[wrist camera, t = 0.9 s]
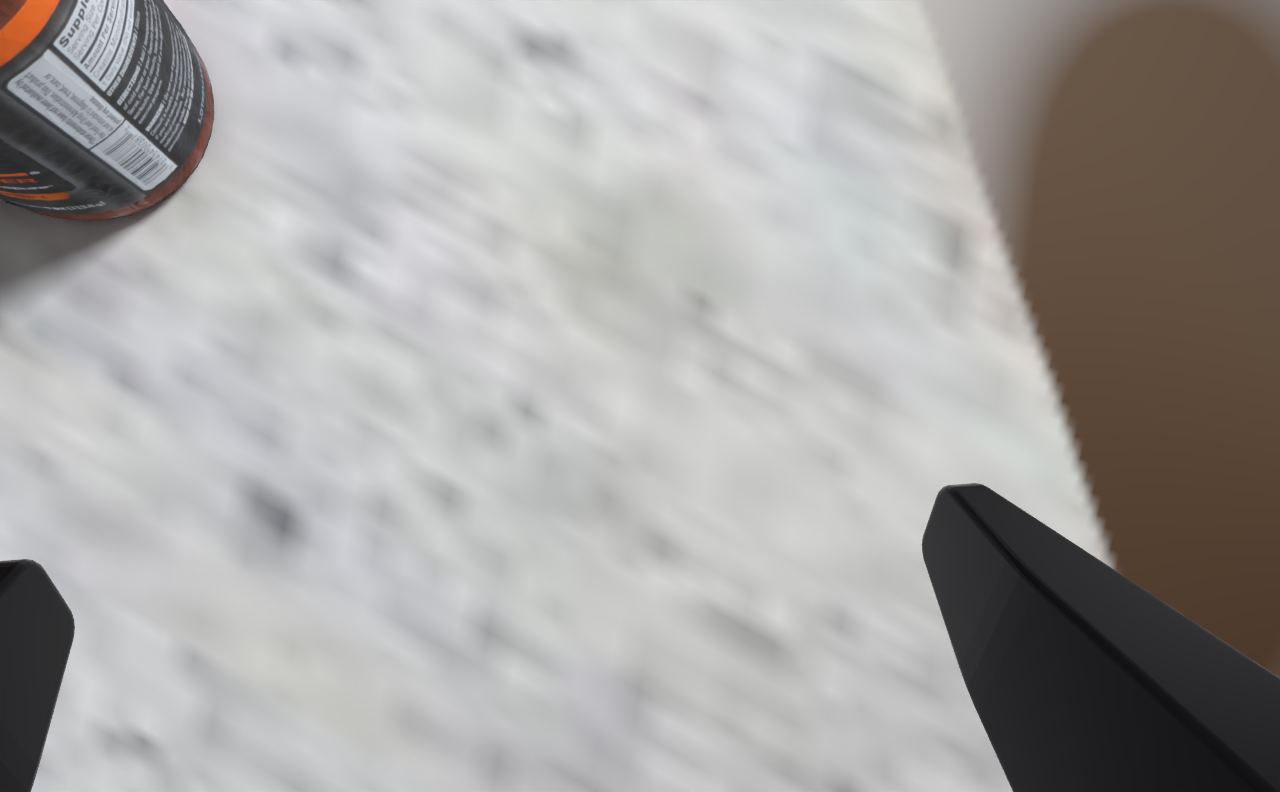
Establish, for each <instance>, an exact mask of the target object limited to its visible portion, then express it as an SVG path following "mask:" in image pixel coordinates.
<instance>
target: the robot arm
mask: <svg viewBox="0 0 1280 792" xmlns="http://www.w3.org/2000/svg"><path fill="white" fill-rule="evenodd" d="M922 552H923V558H924V561H925V564H926V567H927V570H928V574H929V577H930V580H931V583H932V586H933V589H934V592H935V595H936V598H937V601H938V604H939V607H940V610H941V613H942V616H943V619H944V622H945V625H946V628H947V631H948V634H949V637H950V640H951V643H952V646H953V649H954V652H955V656H956V659H957V662H958V665H959V668H960V670H961V673H962V676H963V679H964V681H965V684H966V687H967V689H968V692H969V694H970V696H971V699H972V701H973V704H974V706H975V708H976V711H977V713H978V715H979V717H980V719H981V722H982V724H983V726H984V728H985V730H986V733H987V735H988V737H989V739H990V741H991V744H992V746H993V748H994V750H995V753H996V755H997V757H998V759H999V761H1000V764H1001V766H1002V768H1003V770H1004V772H1005V775H1006V777H1007V779H1008V781H1009V783H1010V786H1011V788H1012V790H1013V792H1280V678H1279V677H1277V676H1276V675H1275V674H1273V673H1272V672H1270V671H1269V670H1267V669H1265V668H1264V667H1262V666H1261V665H1259V664H1258V663H1256V662H1255V661H1253V660H1252V659H1250V658H1249V657H1247V656H1245V655H1244V654H1242V653H1241V652H1239V651H1238V650H1236V649H1235V648H1233V647H1232V646H1230V645H1229V644H1227V643H1225V642H1224V641H1222V640H1221V639H1219V638H1218V637H1216V636H1215V635H1213V634H1212V633H1210V632H1209V631H1207V630H1206V629H1204V628H1203V627H1201V626H1200V625H1198V624H1196V623H1195V622H1193V621H1192V620H1190V619H1189V618H1187V617H1186V616H1184V615H1183V614H1181V613H1180V612H1178V611H1177V610H1175V609H1173V608H1172V607H1170V606H1169V605H1167V604H1166V603H1164V602H1163V601H1161V600H1160V599H1158V598H1157V597H1155V596H1154V595H1152V594H1150V593H1149V592H1147V591H1146V590H1144V589H1143V588H1141V587H1140V586H1138V585H1136V584H1135V583H1133V582H1132V581H1131V580H1129V579H1128V578H1126V577H1124V576H1123V575H1121V574H1120V573H1118V572H1117V571H1115V570H1114V569H1112V568H1111V567H1109V566H1108V565H1106V564H1105V563H1103V562H1101V561H1100V560H1098V559H1097V558H1095V557H1094V556H1092V555H1091V554H1089V553H1088V552H1086V551H1085V550H1083V549H1082V548H1080V547H1078V546H1077V545H1075V544H1074V543H1072V542H1071V541H1069V540H1068V539H1066V538H1065V537H1063V536H1062V535H1060V534H1059V533H1057V532H1056V531H1054V530H1052V529H1051V528H1049V527H1048V526H1046V525H1045V524H1043V523H1042V522H1040V521H1039V520H1037V519H1036V518H1034V517H1033V516H1031V515H1029V514H1028V513H1026V512H1025V511H1023V510H1022V509H1020V508H1019V507H1017V506H1016V505H1014V504H1013V503H1011V502H1010V501H1008V500H1006V499H1005V498H1003V497H1002V496H1000V495H999V494H997V493H996V492H994V491H993V490H991V489H990V488H988V487H986V486H984V485H982V484H977V483H972V484H959V485H948V486H945V487H943V488H942V489H941V490H940V491H939V493H938V495H937V497H936V500H935V503H934V506H933V509H932V512H931V515H930V518H929V521H928V524H927V527H926V529H925V532H924V535H923V541H922ZM74 629H75V626H74V619H73V615H72V612H71V610H70V608H69V607H68V605H67V604H66V602H65V601H64V599H63V598H62V596H61V595H60V593H59V591H58V590H57V588H56V587H55V585H54V584H53V582H52V581H51V579H50V578H49V576H48V575H47V573H46V571H45V570H44V568H43V567H42V566H41V565H40V564H38V563H36V562H35V561H33V560H28V559H22V560H10V561H0V792H31V789H32V786H33V783H34V780H35V776H36V773H37V770H38V767H39V763H40V759H41V756H42V752H43V748H44V745H45V741H46V737H47V734H48V730H49V726H50V723H51V719H52V715H53V712H54V708H55V704H56V701H57V697H58V693H59V690H60V686H61V682H62V679H63V675H64V671H65V668H66V664H67V660H68V657H69V653H70V649H71V646H72V642H73V638H74Z"/></svg>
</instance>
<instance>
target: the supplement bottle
mask: <svg viewBox="0 0 1280 792" xmlns="http://www.w3.org/2000/svg"><path fill="white" fill-rule="evenodd" d="M213 120H214V99H213V93H212V87H211V83H210V79H209V76H208V73H207V69H206V67H205V65H204V62H203V60H202V59H201V57H200V56H199V54H198V52H197V50H196V48H195V47H194V45H193V43H192V42H191V40H190V38H189V37H188V35H187V34H186V32H185V30H184V29H183V27H182V25H181V24H180V23H179V21H178V20H177V19H176V17H175V16H174V15H173V14H172V12H171V11H170V10H169V8H168V6H167V5H166V4H165V2H164V1H163V0H0V199H2V200H3V201H5V202H6V203H9V204H13V205H16V206H19V207H22V208H25V209H28V210H31V211H34V212H36V213H39V214H44V215H48V216H53V217H58V218H64V219H71V220H102V219H112V218H116V217H120V216H131V215H133V214H136V213H138V212H140V211H142V210H144V209H146V208H149V207H151V206H153V205H155V204H157V203H158V202H160V201H162V200H163V199H164V198H165V197H167V196H168V195H169V194H171V193H172V192H173V191H175V190H176V189H177V188H179V187H180V186H181V185H182V184H183V183H184V182H185V181H186V180H187V179H188V177H189V176H190V175H191V174H192V173H193V172H194V170H195V169H196V168H197V167H198V164H199V163H200V161H201V159H202V158H203V156H204V153H205V150H206V148H207V146H208V142H209V139H210V137H211V132H212V126H213Z"/></svg>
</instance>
